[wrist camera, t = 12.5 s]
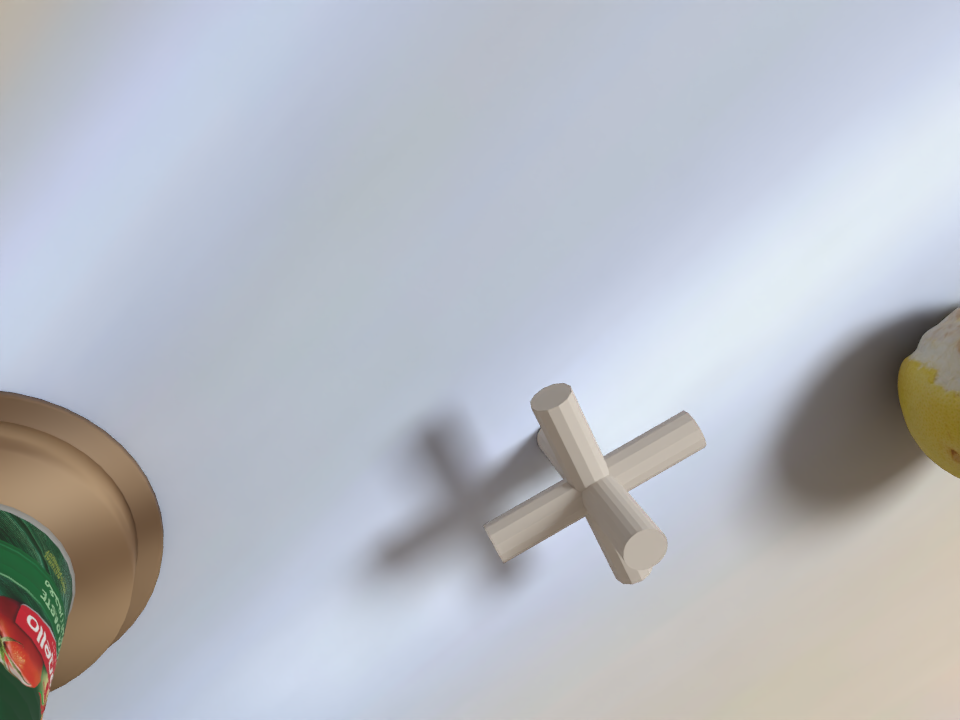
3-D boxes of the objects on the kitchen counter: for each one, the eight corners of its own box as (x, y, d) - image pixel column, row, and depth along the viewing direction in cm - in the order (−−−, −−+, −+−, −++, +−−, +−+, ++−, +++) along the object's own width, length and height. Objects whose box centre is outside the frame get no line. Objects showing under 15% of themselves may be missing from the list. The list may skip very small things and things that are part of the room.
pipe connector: (505, 561, 44) (579, 700, 35) (417, 406, 39) (475, 520, 30) (676, 462, 44) (791, 574, 36) (608, 300, 40) (719, 380, 31)
